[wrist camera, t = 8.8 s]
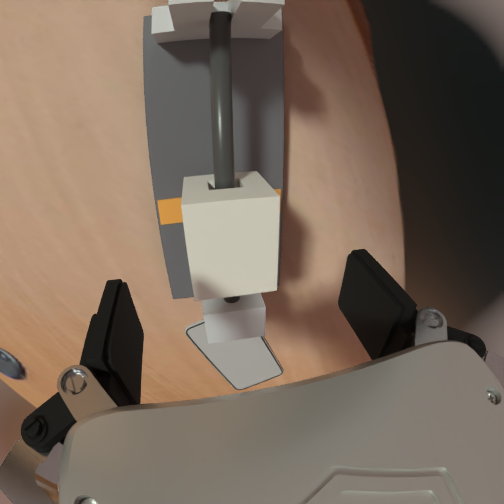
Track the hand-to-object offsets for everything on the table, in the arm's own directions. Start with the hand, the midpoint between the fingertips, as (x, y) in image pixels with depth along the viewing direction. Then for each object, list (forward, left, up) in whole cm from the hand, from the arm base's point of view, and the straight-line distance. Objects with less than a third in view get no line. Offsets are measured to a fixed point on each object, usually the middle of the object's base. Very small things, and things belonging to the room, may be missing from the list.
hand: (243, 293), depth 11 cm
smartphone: (+20, +1, -14) cm, 25 cm away
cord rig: (-3, 0, -13) cm, 14 cm away
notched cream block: (+1, 0, -10) cm, 10 cm away
